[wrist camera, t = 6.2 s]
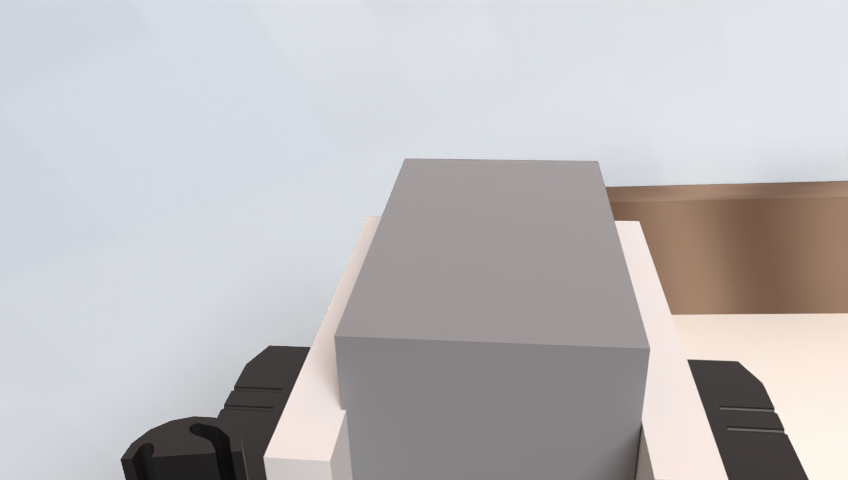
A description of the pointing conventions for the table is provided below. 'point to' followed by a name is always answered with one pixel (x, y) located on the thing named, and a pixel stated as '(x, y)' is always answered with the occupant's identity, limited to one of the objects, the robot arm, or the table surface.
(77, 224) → the table surface
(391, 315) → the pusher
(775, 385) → the tile
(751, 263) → the walnut board
